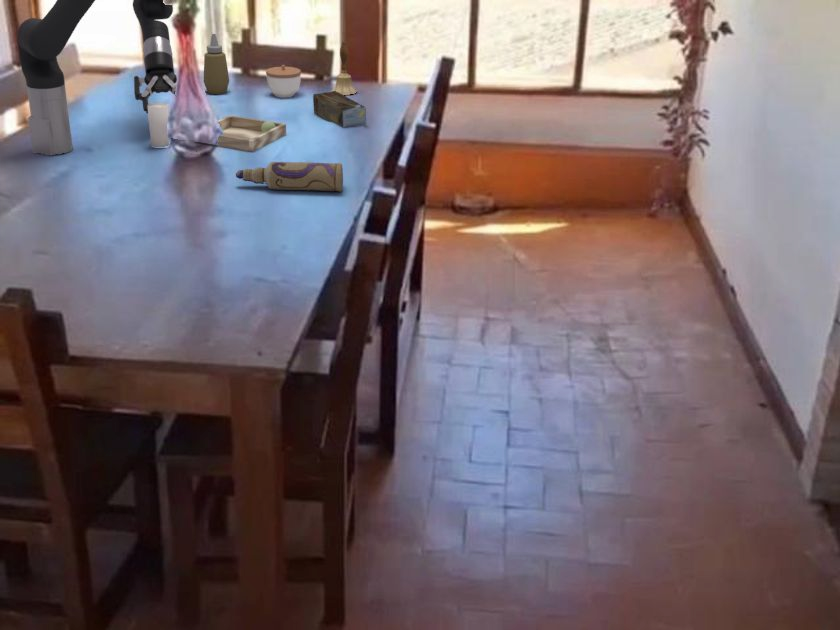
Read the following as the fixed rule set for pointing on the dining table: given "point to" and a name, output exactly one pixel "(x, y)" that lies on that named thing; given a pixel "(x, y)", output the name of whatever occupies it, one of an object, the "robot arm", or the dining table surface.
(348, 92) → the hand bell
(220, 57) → the squeeze bottle
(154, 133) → the white dome-topped cylinder
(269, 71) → the lidded jar
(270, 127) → the green ball
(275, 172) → the decorative bottle
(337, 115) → the beverage carton
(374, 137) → the dining table surface
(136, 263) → the dining table surface
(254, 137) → the tray
